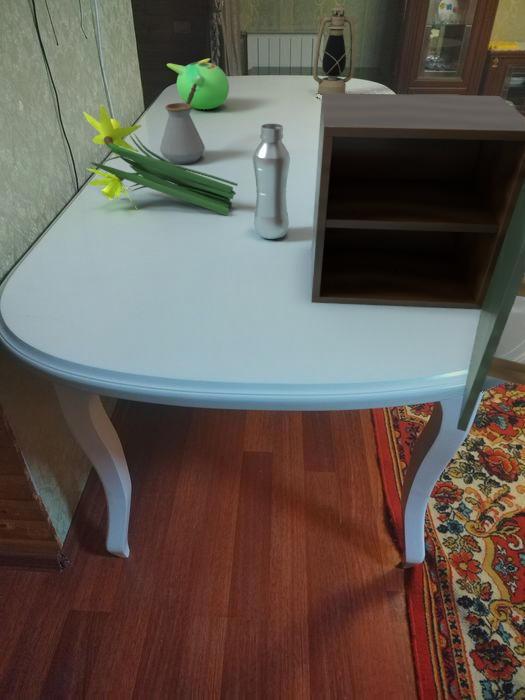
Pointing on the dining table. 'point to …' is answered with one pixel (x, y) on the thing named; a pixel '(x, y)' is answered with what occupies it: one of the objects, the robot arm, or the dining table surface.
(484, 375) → the cupboard door
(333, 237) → the cupboard
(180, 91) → the toy bird
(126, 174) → the daffodil flowers
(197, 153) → the coffee pot
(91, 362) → the dining table surface
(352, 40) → the lantern
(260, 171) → the silver bottle
